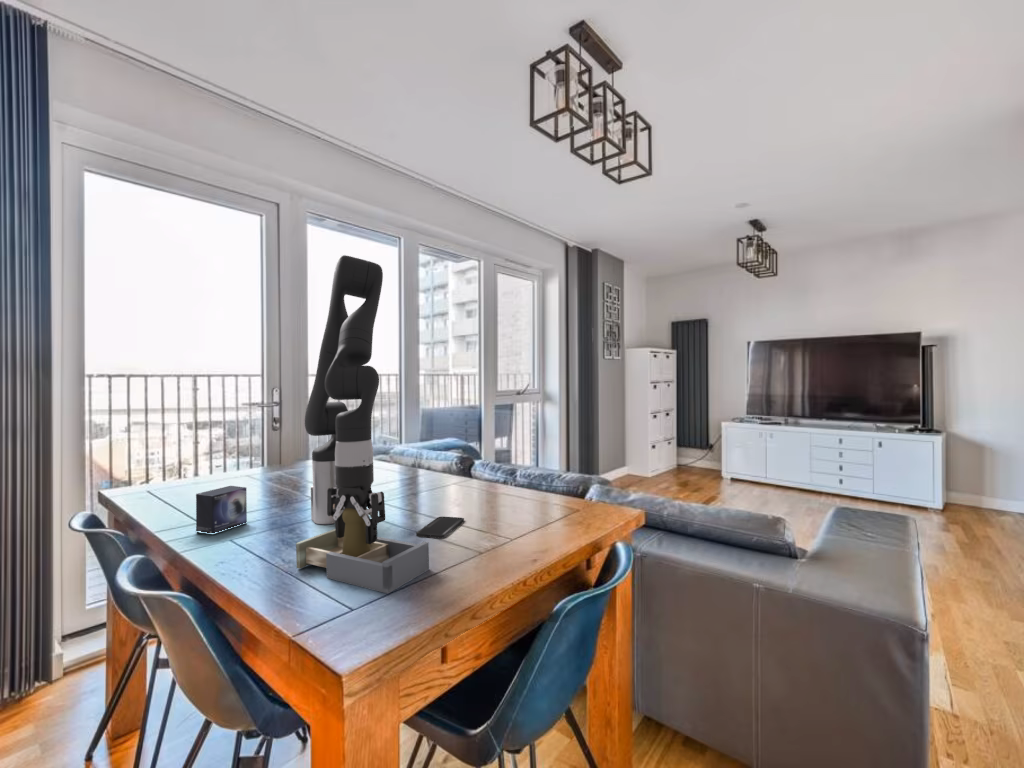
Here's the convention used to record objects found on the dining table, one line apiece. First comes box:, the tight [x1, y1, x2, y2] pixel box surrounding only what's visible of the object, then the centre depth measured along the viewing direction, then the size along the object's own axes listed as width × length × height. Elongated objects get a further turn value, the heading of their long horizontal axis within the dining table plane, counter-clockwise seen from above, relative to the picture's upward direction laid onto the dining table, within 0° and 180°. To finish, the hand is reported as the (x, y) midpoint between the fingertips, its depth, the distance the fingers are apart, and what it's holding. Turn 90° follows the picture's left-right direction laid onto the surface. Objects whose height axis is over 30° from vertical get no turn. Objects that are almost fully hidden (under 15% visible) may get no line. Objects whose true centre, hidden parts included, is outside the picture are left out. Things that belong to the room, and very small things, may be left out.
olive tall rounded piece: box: [342, 507, 371, 557], centre depth 97 cm, size 6×6×11 cm
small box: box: [195, 485, 248, 533], centre depth 126 cm, size 11×6×10 cm, turn 161°
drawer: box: [295, 528, 389, 570], centre depth 99 cm, size 16×12×5 cm
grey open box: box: [326, 536, 430, 594], centre depth 94 cm, size 16×12×6 cm
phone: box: [415, 516, 465, 539], centre depth 123 cm, size 8×1×15 cm
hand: (356, 539), depth 97 cm, fingers open, 8 cm apart
